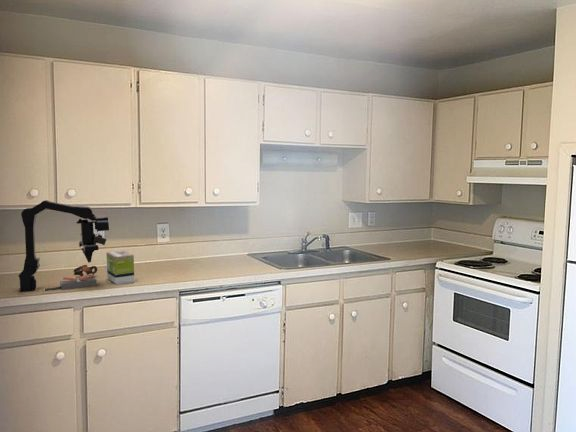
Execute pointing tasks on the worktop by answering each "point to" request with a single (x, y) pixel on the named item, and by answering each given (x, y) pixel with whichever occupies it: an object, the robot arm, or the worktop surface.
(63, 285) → the power strip
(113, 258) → the tea box
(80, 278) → the rocker right
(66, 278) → the rocker left
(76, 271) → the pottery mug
